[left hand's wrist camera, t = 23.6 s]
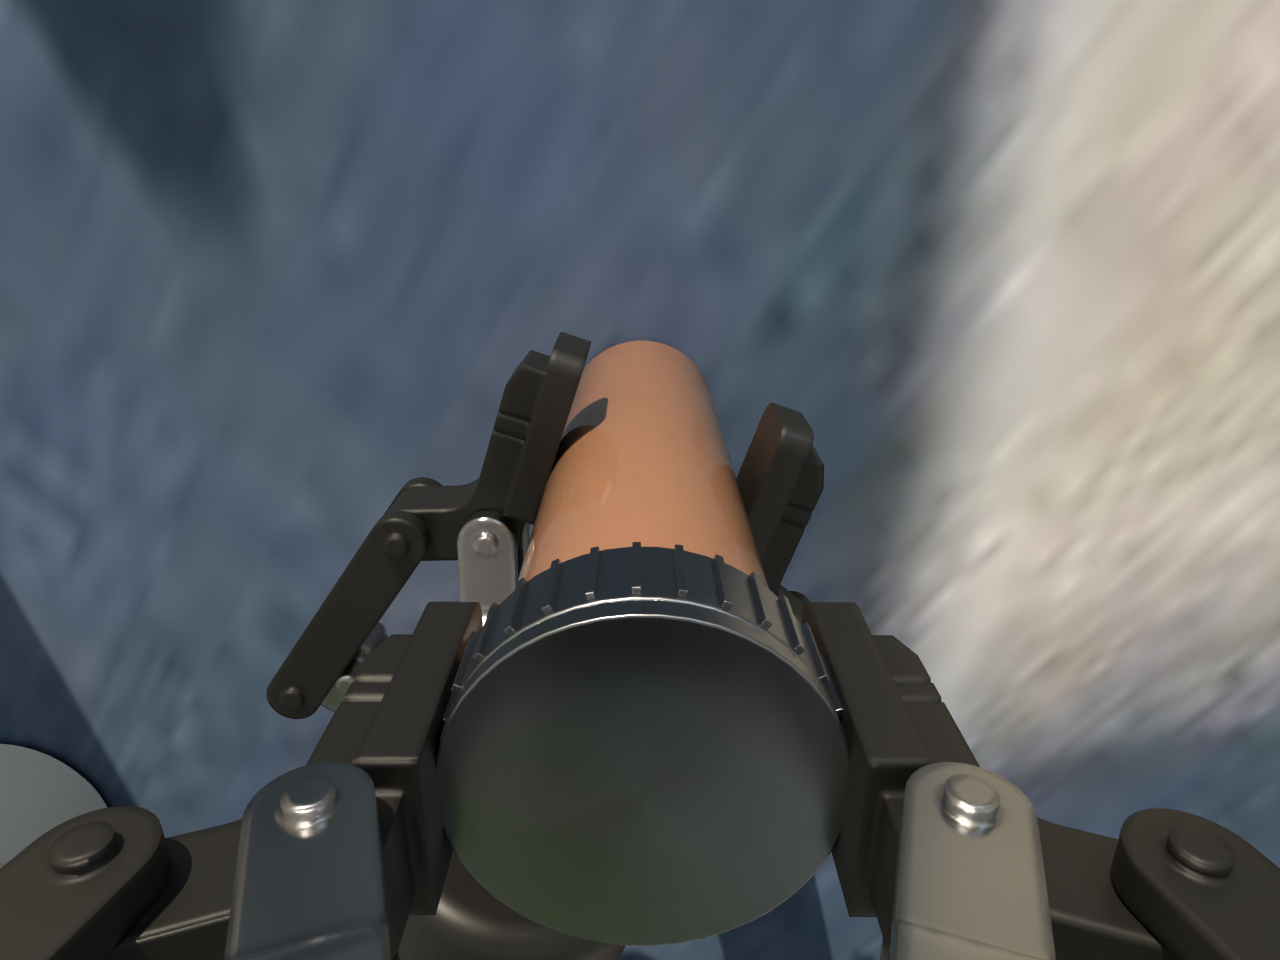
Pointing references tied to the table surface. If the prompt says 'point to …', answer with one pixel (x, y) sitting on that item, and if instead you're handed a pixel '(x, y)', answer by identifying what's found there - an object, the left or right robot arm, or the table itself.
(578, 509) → the jar
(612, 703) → the lid
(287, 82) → the table surface
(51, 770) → the coffee cup
